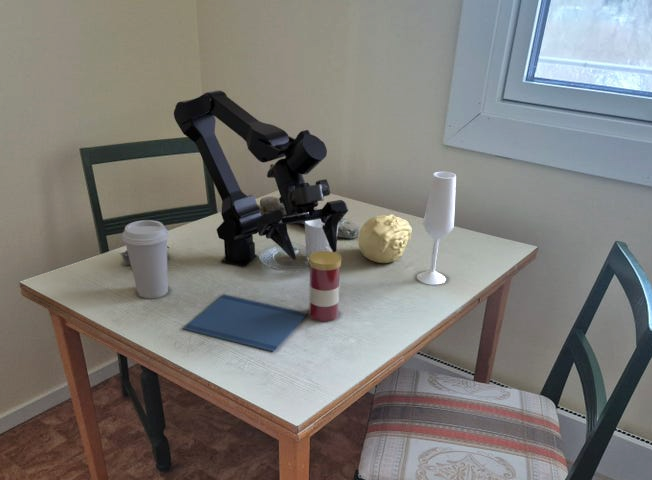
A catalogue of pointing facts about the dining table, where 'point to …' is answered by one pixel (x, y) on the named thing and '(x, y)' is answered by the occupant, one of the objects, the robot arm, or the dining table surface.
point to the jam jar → (324, 285)
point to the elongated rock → (344, 226)
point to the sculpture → (384, 238)
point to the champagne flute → (439, 219)
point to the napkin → (246, 322)
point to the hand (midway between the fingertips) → (315, 255)
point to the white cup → (315, 237)
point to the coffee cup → (148, 256)
